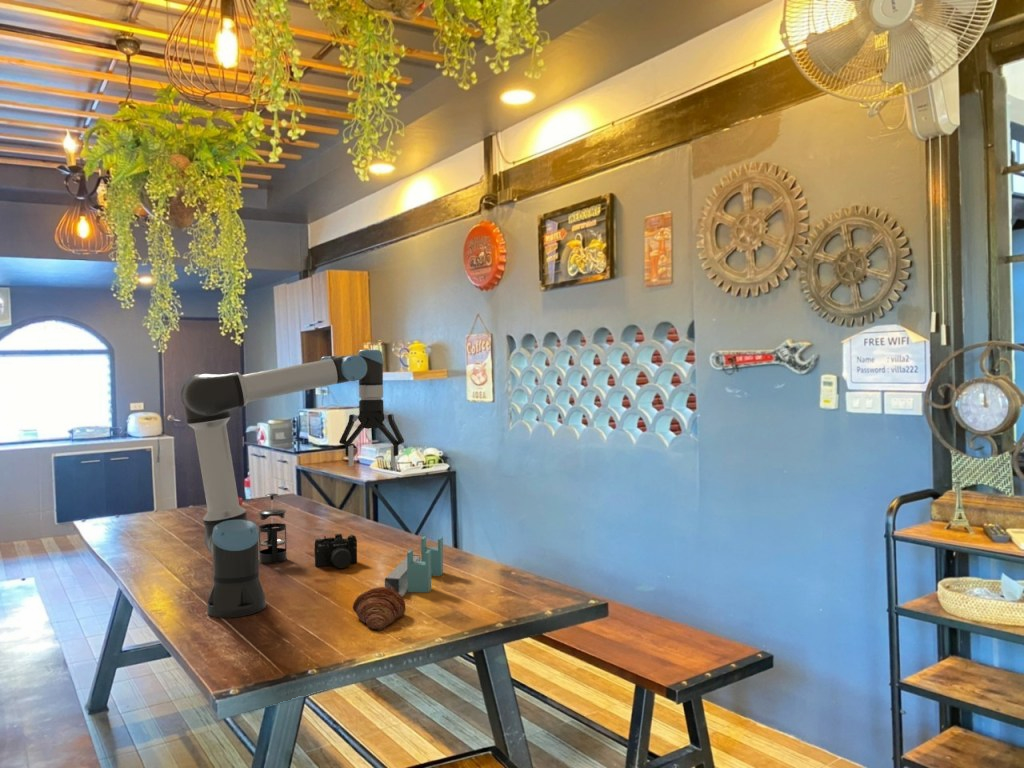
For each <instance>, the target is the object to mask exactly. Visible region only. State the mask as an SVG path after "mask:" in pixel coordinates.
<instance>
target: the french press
mask: <svg viewBox="0 0 1024 768" xmlns="http://www.w3.org/2000/svg"><path fill="white" fill-rule="evenodd" d="M265 496H266V497H270V500H271V509H266V510H260V511H258V515H259V519H260V520H262V521H264V520H267V519H268V518H269V517H271V523H265V524H261V525H259V526H258V533H259V539H258V563H260V564H263V565H272V564H280V563H281V564H282V563H284V562H287V560H288V556H287V525H286V524H285V523H280V522H279V523H277V522H274V517H277V516H278V517H280V518H281V519H284V518H285V513H286V512H287V510H286V509H279V508H278V509H277V508H275V509H273V508H274V507H273V506H274V505H273V503H274V502H273V500H274V497H277V496H279V494H278V493H267V494H265ZM283 531H284V539H282V538H281V539H280V538H278V532H283ZM261 533H267V534H266V535H267V536H266V537H267V538H266V539H267V540H265V539H264V540H263V541H261ZM281 545H284V547H283V548H282V547H278V546H281ZM261 546H262V547H267V548H264V549H261Z"/></svg>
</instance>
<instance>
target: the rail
mask: <svg viewBox="0 0 1024 768" xmlns="http://www.w3.org/2000/svg"><path fill="white" fill-rule="evenodd" d="M413 561H419V562H421V555H414V554H413ZM407 583H408V577H407V556H406V557H405V558H404V559H403V560H402V561H401V562H400V563H399V564H398V565H397V566H396V567H395V568H394V569H392V571H391V572H390V573H388V575H387V576H386V577H385V578H384V587H388V588H392V589H394V590H396V591H397V592H398V593H399V592H400V591H401V589H402V588H403V587H404V586H405V585H406V584H407Z"/></svg>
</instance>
